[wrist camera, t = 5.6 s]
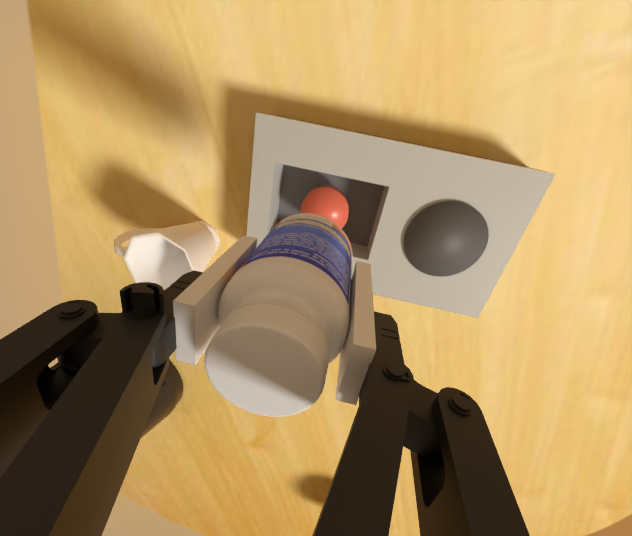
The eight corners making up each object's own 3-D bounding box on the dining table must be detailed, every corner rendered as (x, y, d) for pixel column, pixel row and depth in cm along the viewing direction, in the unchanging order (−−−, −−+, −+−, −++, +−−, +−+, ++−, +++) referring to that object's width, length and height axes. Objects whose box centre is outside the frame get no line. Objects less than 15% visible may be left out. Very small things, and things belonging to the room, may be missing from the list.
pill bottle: (260, 213, 17) (155, 302, 9) (352, 208, 16) (340, 302, 8) (273, 292, 20) (202, 426, 11) (355, 292, 19) (348, 437, 10)
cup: (229, 271, 35) (195, 308, 28) (150, 251, 35) (97, 283, 28) (233, 216, 32) (197, 242, 25) (147, 194, 32) (86, 214, 25)
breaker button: (300, 224, 29) (297, 230, 28) (307, 180, 27) (304, 183, 26) (343, 234, 29) (342, 240, 28) (353, 190, 27) (353, 194, 26)
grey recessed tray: (256, 250, 33) (243, 266, 30) (269, 114, 27) (254, 112, 23) (464, 296, 32) (478, 319, 29) (528, 167, 26) (557, 174, 22)
